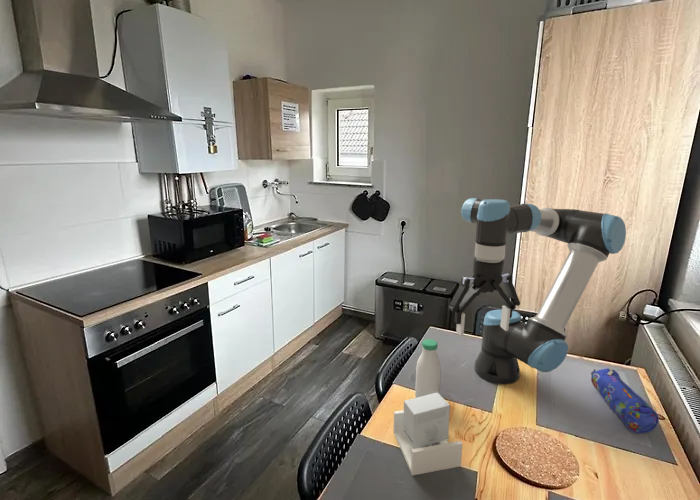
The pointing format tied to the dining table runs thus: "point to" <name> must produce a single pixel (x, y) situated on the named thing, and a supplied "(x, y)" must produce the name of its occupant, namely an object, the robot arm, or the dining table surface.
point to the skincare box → (426, 420)
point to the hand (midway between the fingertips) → (482, 331)
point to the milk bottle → (428, 370)
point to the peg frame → (426, 451)
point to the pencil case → (624, 401)
